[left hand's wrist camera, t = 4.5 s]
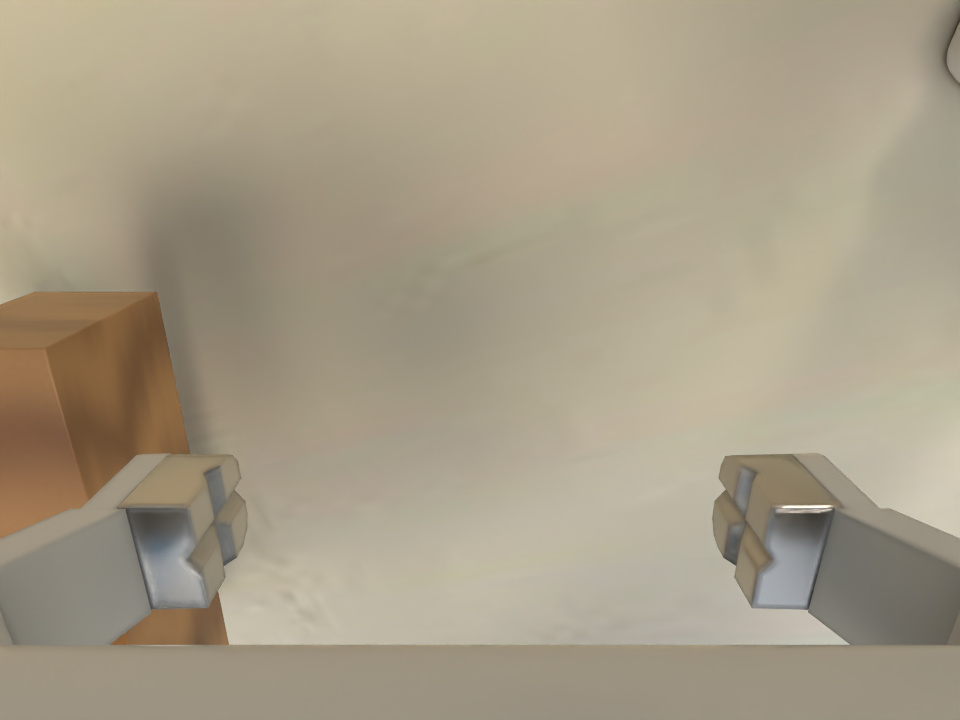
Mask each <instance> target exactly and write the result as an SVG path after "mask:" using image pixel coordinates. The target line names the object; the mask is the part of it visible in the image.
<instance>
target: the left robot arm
mask: <svg viewBox="0 0 960 720" xmlns="http://www.w3.org/2000/svg"><path fill="white" fill-rule="evenodd" d="M946 62H947V66H948V69H949V71H950V73H951V74H952V76H953V77H954V78H955V79H956V80H957V81H958V82H959V83H960V22H959V24H958V26H957V29H956V31H955V33H954V36H953V38H952V40H951V43H950V45H949V48H948V51H947V56H946ZM240 480H241V474H240V469H239V464H238V461H237V460H236V459H235V457H234V456H233V455H208V454H170V453H160V454H141V455H136V456H135V457H134V458H133V459H132V460H131V461H130V462H129V463H128V464H127V465H126V466H124V467H123V468H122V469H121V470H120V471H119V472H118V473H117V474H116V475H115V476H114V477H113V478H112V479H111V480H110V481H109V482H108V483H107V484H106V485H104V486H103V487H102V488H101V489H100V490H99V491H98V492H97V493H96V494H95V495H94V496H93V497H92V498H91V499H90V500H89V501H88V502H87V503H86V504H84V505H83V506H82V507H81V508H80V509H68V510H66V511H63V512H61V513H59V514H56V515H54V516H52V517H49V518H47V519H45V520H42V521H40V522H38V523H35V524H33V525H30V526H28V527H26V528H23V529H21V530H19V531H16V532H14V533H12V534H9V535H7V536H5V537H2V538H0V720H960V538H958V537H955V536H953V535H951V534H948V533H946V532H944V531H941V530H939V529H936V528H934V527H932V526H929V525H927V524H925V523H922V522H920V521H918V520H915V519H913V518H911V517H908V516H906V515H904V514H901V513H899V512H897V511H894V510H892V509H880V508H879V507H878V506H877V505H876V504H875V503H873V502H872V501H871V500H870V499H869V498H868V497H867V496H866V495H865V494H864V493H863V492H862V491H861V490H860V489H859V488H858V487H857V486H856V485H855V484H854V483H852V482H851V481H850V480H849V479H848V478H847V477H846V476H845V475H844V474H843V473H842V472H841V471H840V470H839V469H838V468H837V467H836V466H835V465H834V464H833V463H831V462H830V461H829V460H828V459H827V458H826V457H825V456H823V455H820V454H817V453H807V454H771V455H732V456H725V458H724V460H723V462H722V464H721V468H720V473H719V480H720V481H721V483H722V484H723V486H724V487H725V489H726V490H725V491H724V492H723V493H722V494H721V495H720V496H719V497H718V498H717V499H716V500H715V503H714V510H713V518H712V519H713V530H714V537H715V540H716V543H717V546H718V548H719V550H720V552H721V554H722V556H723V558H725V559H726V560H728V561H730V562H731V563H733V564H734V565H736V571H735V576H734V577H735V579H736V581H737V583H738V584H739V586H740V588H741V590H742V591H743V593H744V595H745V597H746V598H747V600H748V602H749V604H750V605H751V607H752V608H768V609H804V610H808V612H809V613H810V614H811V615H813V616H814V617H815V618H816V619H818V620H819V621H820V622H822V623H823V624H824V625H826V626H827V627H828V628H830V629H831V630H832V631H833V632H835V633H836V634H837V635H839V636H840V637H841V638H843V639H844V640H845V641H846V642H848V643H849V644H850V645H110V644H111V643H112V642H114V641H115V640H116V639H118V638H119V637H120V636H122V635H123V634H124V633H125V632H127V631H128V630H129V629H131V628H132V627H133V626H135V625H136V624H137V623H139V622H140V621H141V620H142V619H144V618H145V617H146V616H148V615H149V614H150V613H151V612H152V611H151V610H156V609H191V608H208V607H209V605H210V604H211V602H212V600H213V598H214V597H215V595H216V593H217V591H218V590H219V588H220V586H221V584H222V583H223V581H224V579H225V577H226V576H225V571H224V565H226V564H227V563H229V562H230V561H232V560H234V559H235V558H237V556H238V554H239V552H240V550H241V548H242V546H243V544H244V539H245V535H246V531H247V509H246V502H245V500H244V499H243V498H242V497H241V496H240V495H239V494H238V493H237V492H236V491H235V490H234V489H235V487H236V486H237V484H238V483H239V481H240Z"/></svg>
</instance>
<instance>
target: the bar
mask: <svg viewBox="0 0 960 720" xmlns="http://www.w3.org/2000/svg"><path fill="white" fill-rule="evenodd" d="M160 453H170V454H190V451H189V447H188V442H187V437H186V432H185V427H184V422H183V417H182V412H181V407H180V402H179V398H178V393H177V388H176V383H175V378H174V373H173V368H172V363H171V358H170V353H169V349H168V344H167V339H166V334H165V329H164V324H163V319H162V314H161V309H160V304H159V300H158V295H157V292H33V293H31V294H28V295H25V296H23V297H20V298H17V299H14V300H12V301H9V302H6V303H4V304H1V305H0V538H2V537H5V536H7V535H9V534H12V533H14V532H16V531H19V530H21V529H23V528H26V527H28V526H30V525H33V524H35V523H38V522H40V521H42V520H45V519H47V518H49V517H52V516H54V515H56V514H59V513H61V512H63V511H66V510H68V509H80V508H81V507H82V506H83V505H84V504H86V503H87V502H88V501H89V500H90V499H91V498H92V497H93V496H94V495H95V494H96V493H97V492H98V491H99V490H100V489H101V488H102V487H103V486H104V485H106V484H107V483H108V482H109V481H110V480H111V479H112V478H113V477H114V476H115V475H116V474H117V473H118V472H119V471H120V470H121V469H122V468H123V467H124V466H126V465H127V464H128V463H129V462H130V461H131V460H132V459H133V458H134V457H135V456H136V455H141V454H160ZM151 611H152V612H151V613H150V614H149V615H148V616H146V617H145V618H144V619H142V620H141V621H140V622H139V623H137V624H136V625H135V626H133V627H132V628H131V629H129V630H128V631H127V632H125V633H124V634H123V635H122V636H120V637H119V638H118V639H116V640H115V641H114V642H112V643H111V644H110V645H229V643H228V638H227V633H226V628H225V623H224V618H223V613H222V608H221V603H220V598H219V594H218V591H217V593H216V595H215V597H214V598H213V600H212V602H211V604H210V605H209V607H208V608H191V609H156V610H151Z"/></svg>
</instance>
